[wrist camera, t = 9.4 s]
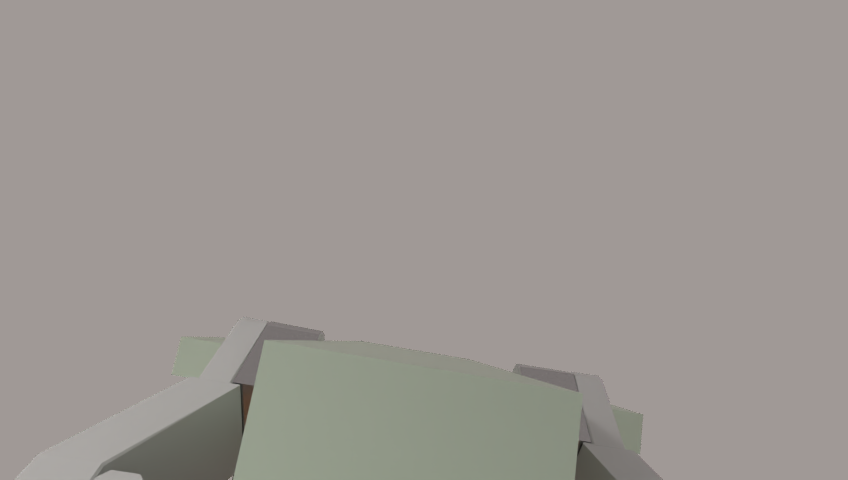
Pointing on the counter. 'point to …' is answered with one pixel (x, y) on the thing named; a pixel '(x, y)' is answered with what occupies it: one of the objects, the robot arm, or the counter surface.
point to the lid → (400, 415)
